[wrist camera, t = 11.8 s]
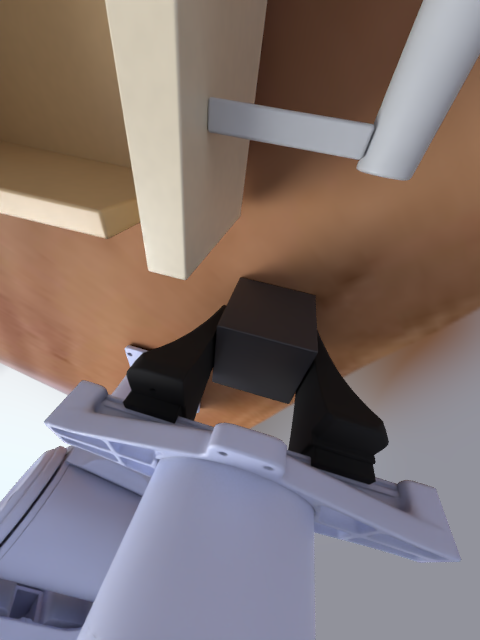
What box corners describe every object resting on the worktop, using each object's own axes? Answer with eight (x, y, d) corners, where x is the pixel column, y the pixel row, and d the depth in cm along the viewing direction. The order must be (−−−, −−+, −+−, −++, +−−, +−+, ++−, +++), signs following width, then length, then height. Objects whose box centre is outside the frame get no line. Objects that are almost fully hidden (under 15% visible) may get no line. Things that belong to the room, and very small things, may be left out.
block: (293, 346, 17) (288, 404, 14) (232, 330, 18) (211, 382, 14) (316, 295, 14) (318, 352, 10) (240, 276, 14) (216, 325, 11)
